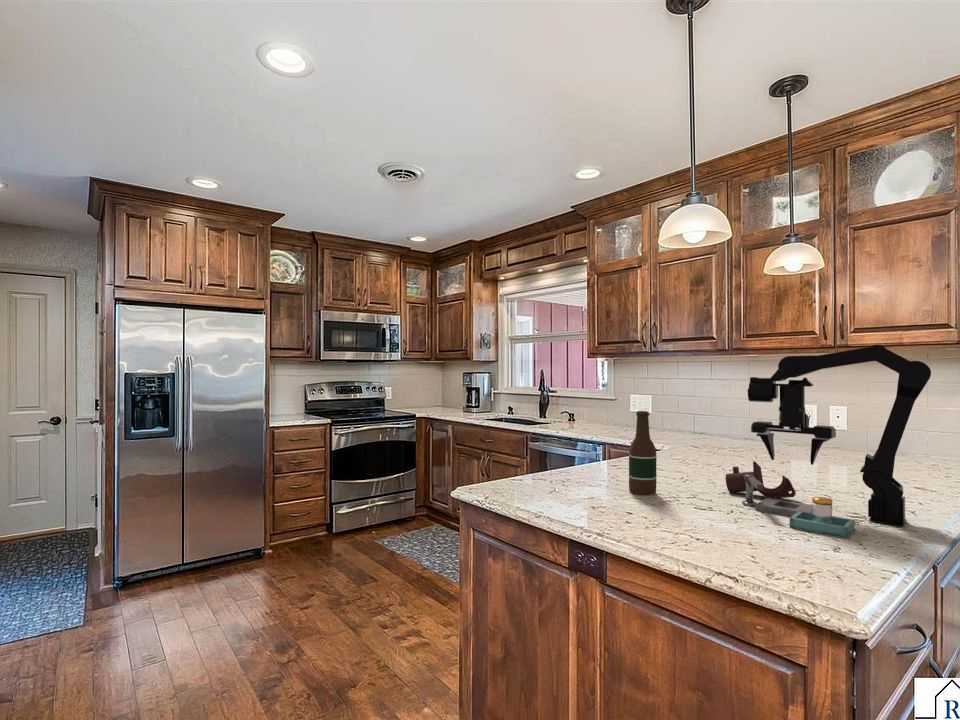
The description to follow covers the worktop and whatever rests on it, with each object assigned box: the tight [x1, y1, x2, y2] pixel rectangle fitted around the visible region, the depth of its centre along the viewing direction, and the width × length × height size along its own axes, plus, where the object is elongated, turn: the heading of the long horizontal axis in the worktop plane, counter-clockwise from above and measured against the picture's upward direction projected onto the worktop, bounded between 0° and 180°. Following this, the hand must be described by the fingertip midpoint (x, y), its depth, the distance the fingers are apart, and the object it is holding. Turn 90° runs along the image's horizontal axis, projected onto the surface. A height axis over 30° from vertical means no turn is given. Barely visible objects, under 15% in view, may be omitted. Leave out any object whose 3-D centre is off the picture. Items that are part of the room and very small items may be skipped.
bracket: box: [725, 461, 797, 499], centre depth 153 cm, size 6×17×10 cm, turn 54°
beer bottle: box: [628, 410, 657, 496], centre depth 156 cm, size 8×8×24 cm
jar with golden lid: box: [811, 496, 833, 525], centre depth 121 cm, size 4×4×6 cm
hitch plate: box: [741, 481, 812, 517], centre depth 138 cm, size 17×10×6 cm, turn 46°
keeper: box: [744, 475, 764, 490], centre depth 138 cm, size 13×3×1 cm, turn 165°
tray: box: [789, 511, 856, 539], centre depth 121 cm, size 11×9×2 cm
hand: (792, 462), depth 140 cm, fingers open, 9 cm apart
